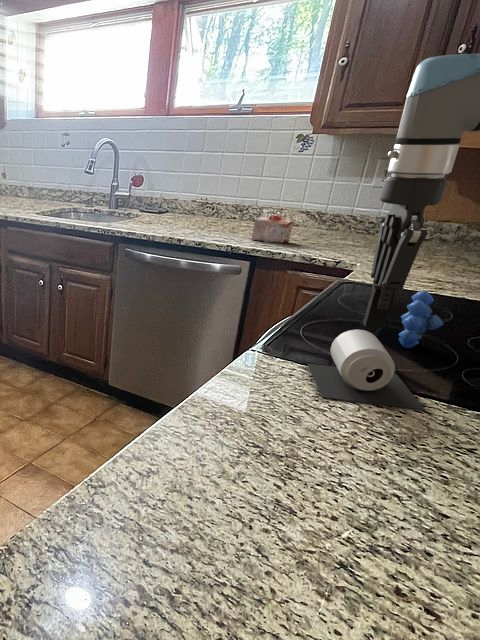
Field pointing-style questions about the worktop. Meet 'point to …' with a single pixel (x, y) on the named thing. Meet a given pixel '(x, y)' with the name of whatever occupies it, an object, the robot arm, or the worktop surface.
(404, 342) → the grapes
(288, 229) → the food item
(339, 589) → the worktop surface
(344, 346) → the can
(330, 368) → the mat
